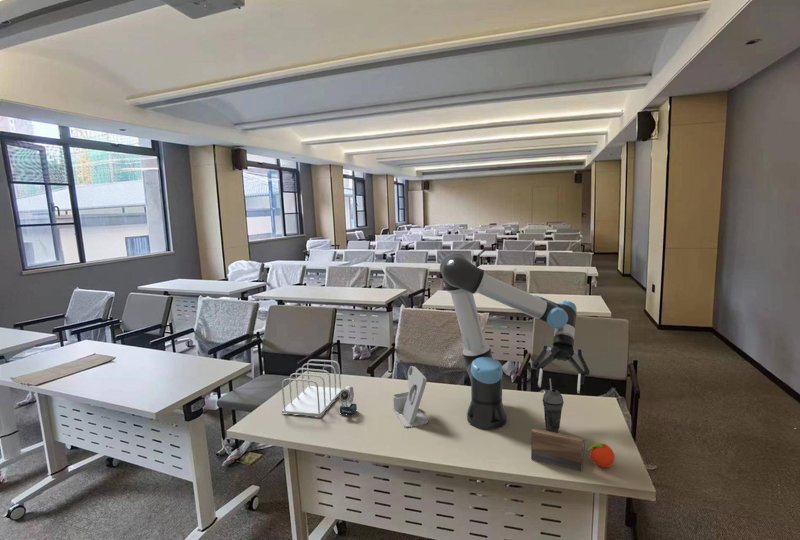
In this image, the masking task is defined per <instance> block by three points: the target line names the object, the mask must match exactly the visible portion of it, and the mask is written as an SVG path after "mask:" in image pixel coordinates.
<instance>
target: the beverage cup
mask: <svg viewBox="0 0 800 540" xmlns="http://www.w3.org/2000/svg"><path fill="white" fill-rule="evenodd" d="M564 403H565V402H564V397H563V395H562V394H561V392H560V391H558V389H557V390H556V389H553V387H552V378H549V389H548V390H546V391H545V392H544V393H543V396H542V405H543V411H544V423H545V431H549V432H554V433H559V432H560V426H561V418H562V412H563V411H562V410H563V406H564Z"/></svg>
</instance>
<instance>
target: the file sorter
mask: <svg viewBox="0 0 800 540" xmlns="http://www.w3.org/2000/svg"><path fill="white" fill-rule="evenodd" d="M310 362H322V363H323V362H326V363H335V364H336V365H337V367H338V368H337V369H338V384H339V387H337V371H336V367H334V365H331V364H320V363H310ZM304 366H306V367H304ZM309 366H316V367H317V366H318V367H319V366H320V367H330V368H332V369H333V373H334V377H333V378H334V387H331V386H332V384H331V374H330V373H329V371H327V370H325V369H317V368H316V369H315V368H309ZM300 370H301V373H299V372H298V371H300ZM304 371H306V372H307V373H304ZM310 371H314V372H324V373H326V374H327V375H328V386H326V384H325V379H324V377H323V376H322V375H320V374H319V375H318V374H310ZM292 376H295V378H292ZM298 376H301V378H298ZM304 376H306V377H307V379H305V378H304ZM310 377H313V378H315V377H317V378H320V379H321V380H322V384H323V385H322V386H319V385H318V383H317V381H315V380H313V379H310ZM341 379H342V378H341V367H340V363H339V362H337V361H336V360H330V359H329V360H328V359H309V360H308V361H307V362H306V363H304V364H303V365H302V366H301V367H299V368H297V369H296V371H295V372H294V373H291V374H290V375H289V377H288V378H285V379H283V380H282V381H281V392H282V404H283V409H282V410H281V414H282V413H287V414H298V415H306V416H305V417H308V416H317V417H316V418H319V417H320V418H322V417H323V415H324V414H325V413H326V412H327V411H328V410H329V408H331V406H332V405H333V404H334V403H333V402H336V400H337V399H338V398H339V397H338V396H339V393H340V392H341V391H342V389H343V388H344V387H342V385H341V384H342V383H341V382H342V381H341ZM285 381H288V382H289V395H290V396H289V399H290V400H289V401H290V402H289V403H288V404H287V405H286V400H285V399H286V398H285V391H284V390H285V389H284V382H285ZM292 381H294V382H295V385H296V397H294V398H293V396H292V395H293V394H292ZM299 382H301V383H302V391H301V392H300V393H299V384H298V383H299ZM305 382H308V383H307V385H308V386H307V387H306V388H305V384H304V383H305ZM310 382H311V383H314V385H315V386H314V385H311V383H310ZM337 397H338V398H337ZM336 398H337V399H336ZM335 399H336V400H335ZM332 403H333V404H332ZM331 404H332V405H331ZM330 405H331V406H330ZM326 410H327V411H326ZM325 411H326V412H325ZM324 412H325V413H324Z"/></svg>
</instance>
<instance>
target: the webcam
mask: <svg viewBox="0 0 800 540" xmlns="http://www.w3.org/2000/svg"><path fill="white" fill-rule="evenodd" d="M342 388H343V389H342V391H341V392H340V393H339V397H338V399H339V401H340V403H341V405H340V406H339V414H340V413H341V414H347V415H346V416H349V415H353V414H354V413H355V412H356V413H357V411H358V409H357V405H358V404H357V403H353V401H354V397H355V391H354V387H353V386H349V385H345V386H344V387H342ZM356 410H357V411H356ZM356 413H355V414H356ZM341 414H340V415H341ZM355 414H354V415H355ZM354 415H353V416H354Z"/></svg>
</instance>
